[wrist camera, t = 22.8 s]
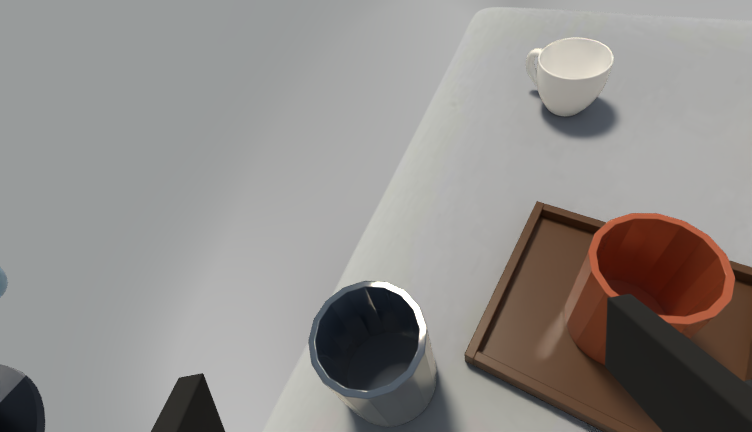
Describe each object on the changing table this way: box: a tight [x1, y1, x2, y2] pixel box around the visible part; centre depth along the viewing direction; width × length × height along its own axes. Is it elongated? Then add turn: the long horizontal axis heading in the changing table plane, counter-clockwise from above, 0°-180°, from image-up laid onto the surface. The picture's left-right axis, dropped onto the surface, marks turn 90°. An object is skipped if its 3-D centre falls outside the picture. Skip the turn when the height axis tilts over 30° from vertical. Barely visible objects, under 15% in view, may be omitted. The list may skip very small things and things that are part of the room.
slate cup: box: [308, 281, 436, 427], centre depth 33 cm, size 8×8×10 cm
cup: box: [526, 38, 614, 116], centre depth 50 cm, size 8×10×7 cm
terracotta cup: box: [564, 213, 735, 365], centre depth 31 cm, size 8×8×10 cm
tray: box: [465, 201, 752, 432], centre depth 35 cm, size 20×18×2 cm
